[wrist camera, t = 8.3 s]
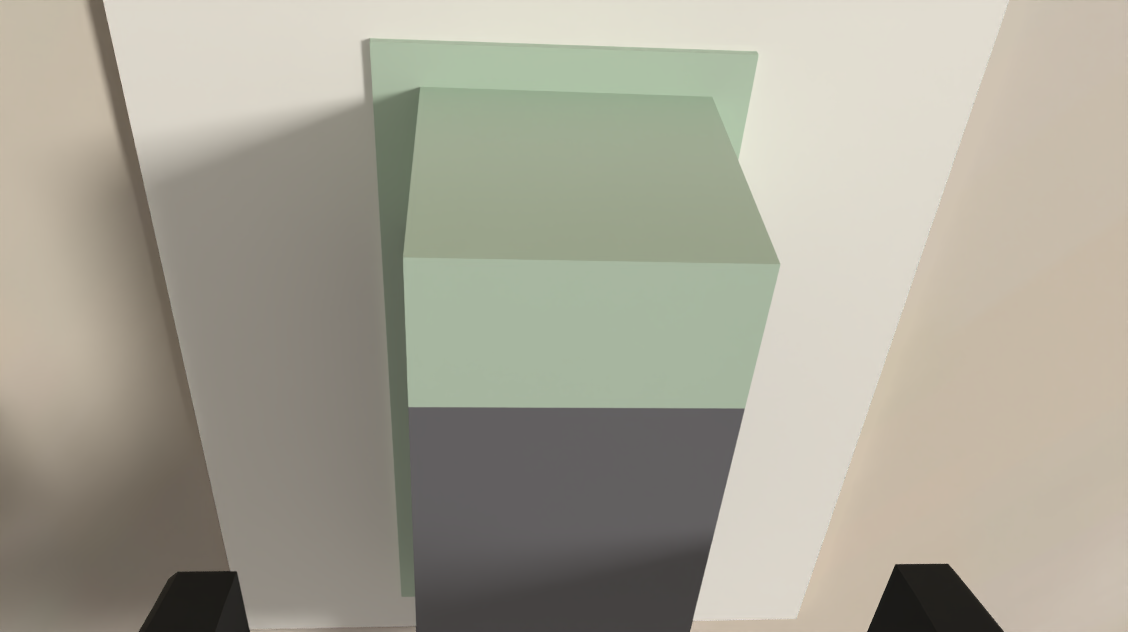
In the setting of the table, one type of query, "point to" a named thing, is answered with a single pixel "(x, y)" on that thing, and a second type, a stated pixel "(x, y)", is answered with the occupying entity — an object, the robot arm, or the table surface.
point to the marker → (574, 354)
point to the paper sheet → (378, 224)
